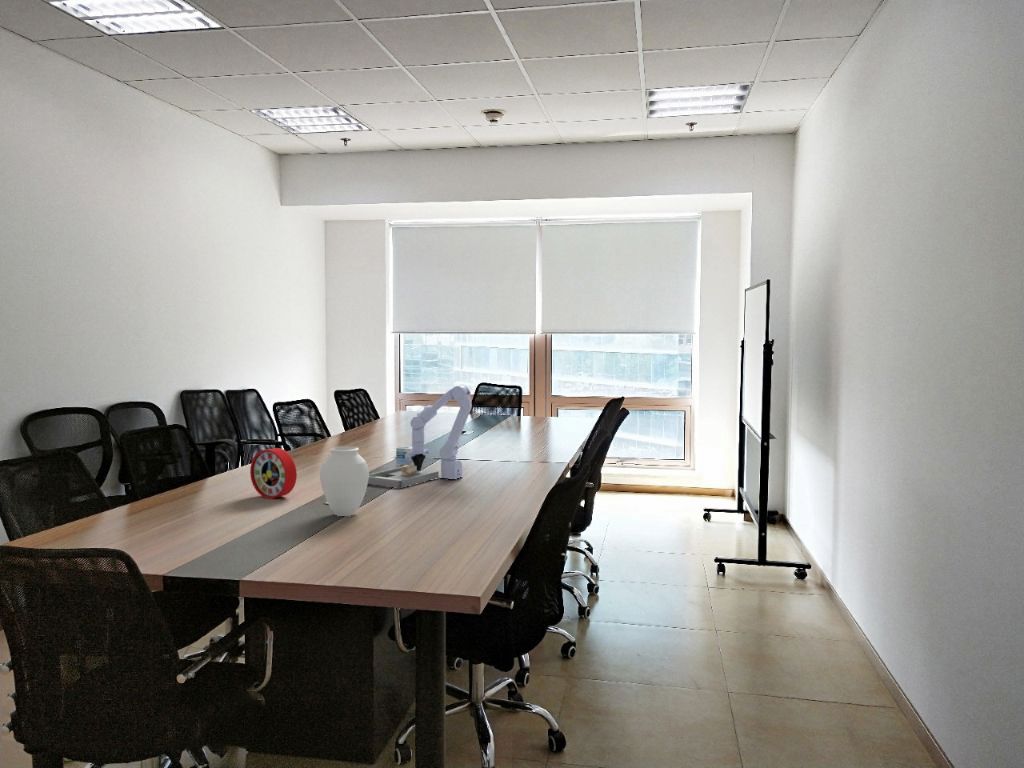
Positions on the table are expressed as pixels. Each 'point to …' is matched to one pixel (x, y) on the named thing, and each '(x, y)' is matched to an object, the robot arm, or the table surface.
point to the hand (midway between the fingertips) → (418, 470)
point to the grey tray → (399, 478)
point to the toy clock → (273, 473)
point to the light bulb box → (403, 456)
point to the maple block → (409, 470)
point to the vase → (344, 480)
